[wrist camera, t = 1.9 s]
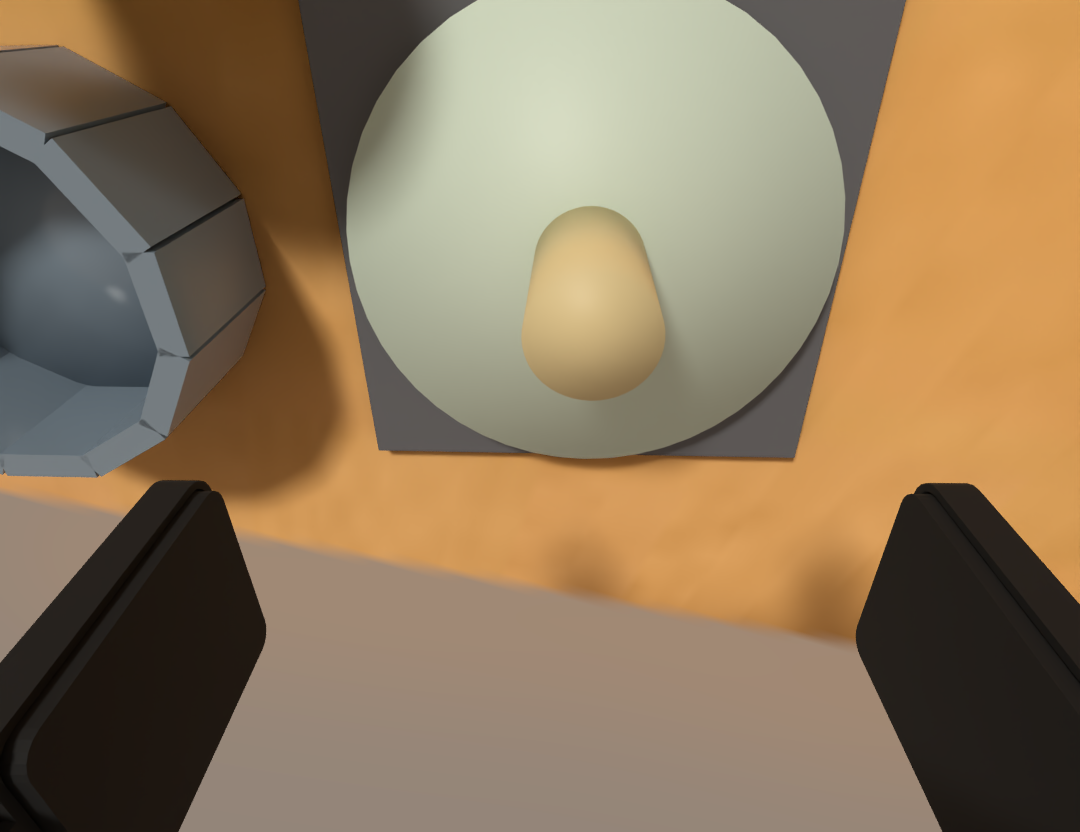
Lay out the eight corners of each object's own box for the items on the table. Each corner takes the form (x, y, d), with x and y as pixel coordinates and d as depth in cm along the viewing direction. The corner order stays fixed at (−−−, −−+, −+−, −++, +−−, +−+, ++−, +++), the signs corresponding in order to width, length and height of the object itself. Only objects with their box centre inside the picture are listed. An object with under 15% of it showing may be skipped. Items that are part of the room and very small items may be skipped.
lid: (893, -38, 15) (1045, -54, 10) (783, 445, 23) (840, 571, 18) (313, -26, 16) (192, -36, 11) (391, 439, 24) (340, 558, 19)
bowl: (204, 43, 18) (87, 57, 13) (292, 393, 24) (231, 480, 19) (-182, 48, 18) (-410, 63, 14) (-1, 389, 24) (-122, 473, 20)
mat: (910, -62, 16) (921, -63, 15) (789, 447, 24) (794, 457, 23) (298, -50, 16) (289, -51, 16) (382, 441, 24) (379, 450, 24)
